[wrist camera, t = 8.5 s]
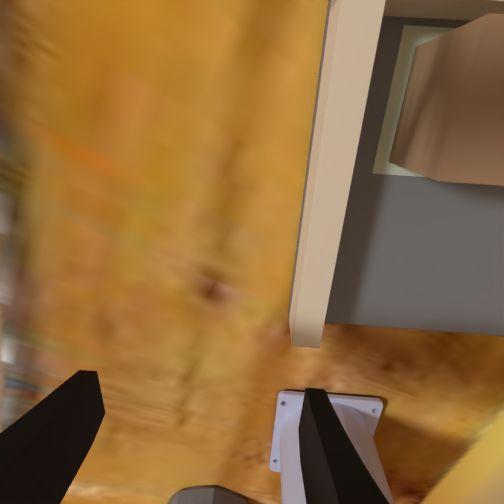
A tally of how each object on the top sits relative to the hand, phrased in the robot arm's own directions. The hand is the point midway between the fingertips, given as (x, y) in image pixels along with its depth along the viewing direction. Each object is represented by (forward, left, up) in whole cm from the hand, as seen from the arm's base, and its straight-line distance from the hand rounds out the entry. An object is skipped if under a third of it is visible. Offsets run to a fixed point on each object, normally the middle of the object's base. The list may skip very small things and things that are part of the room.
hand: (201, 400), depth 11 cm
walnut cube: (+10, -11, -9) cm, 17 cm away
